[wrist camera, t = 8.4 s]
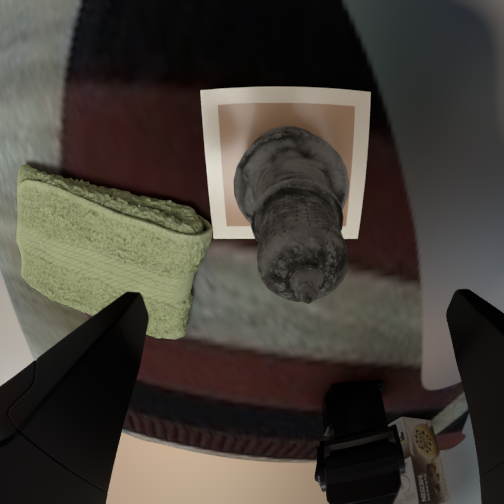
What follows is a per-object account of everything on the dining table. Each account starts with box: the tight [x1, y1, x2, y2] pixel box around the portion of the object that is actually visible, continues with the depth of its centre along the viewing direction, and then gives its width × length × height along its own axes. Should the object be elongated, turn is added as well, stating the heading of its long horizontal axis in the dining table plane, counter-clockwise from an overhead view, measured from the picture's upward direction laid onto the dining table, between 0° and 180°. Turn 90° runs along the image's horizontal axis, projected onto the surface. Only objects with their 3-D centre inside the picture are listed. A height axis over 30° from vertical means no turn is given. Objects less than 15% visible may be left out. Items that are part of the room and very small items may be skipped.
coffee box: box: [388, 417, 450, 504], centre depth 32 cm, size 9×6×16 cm
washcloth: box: [16, 165, 212, 339], centre depth 22 cm, size 13×18×3 cm
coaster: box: [200, 86, 371, 239], centre depth 18 cm, size 10×10×1 cm
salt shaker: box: [233, 126, 349, 304], centre depth 13 cm, size 6×6×12 cm
